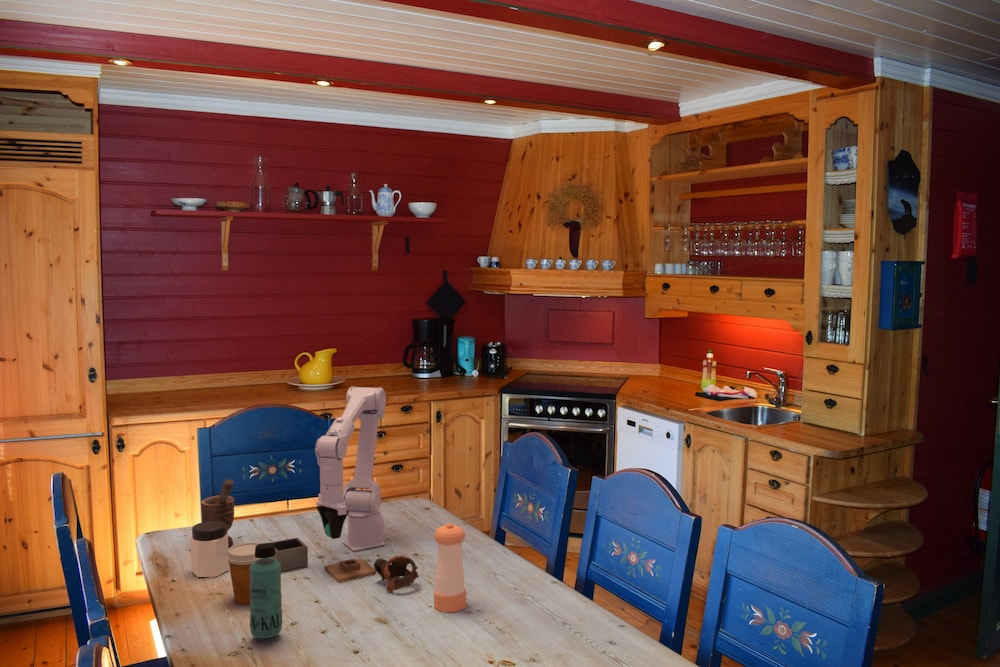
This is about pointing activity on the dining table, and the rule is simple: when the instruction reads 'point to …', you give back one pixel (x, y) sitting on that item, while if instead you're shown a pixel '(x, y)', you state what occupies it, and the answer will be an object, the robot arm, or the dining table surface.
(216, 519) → the mortar and pestle
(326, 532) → the ball
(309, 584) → the dining table surface
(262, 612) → the beverage bottle
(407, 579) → the pottery mug
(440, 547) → the salt shaker
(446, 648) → the dining table surface
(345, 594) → the dining table surface
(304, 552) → the open box
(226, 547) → the jar
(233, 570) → the disposable coffee cup
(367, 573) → the stand
